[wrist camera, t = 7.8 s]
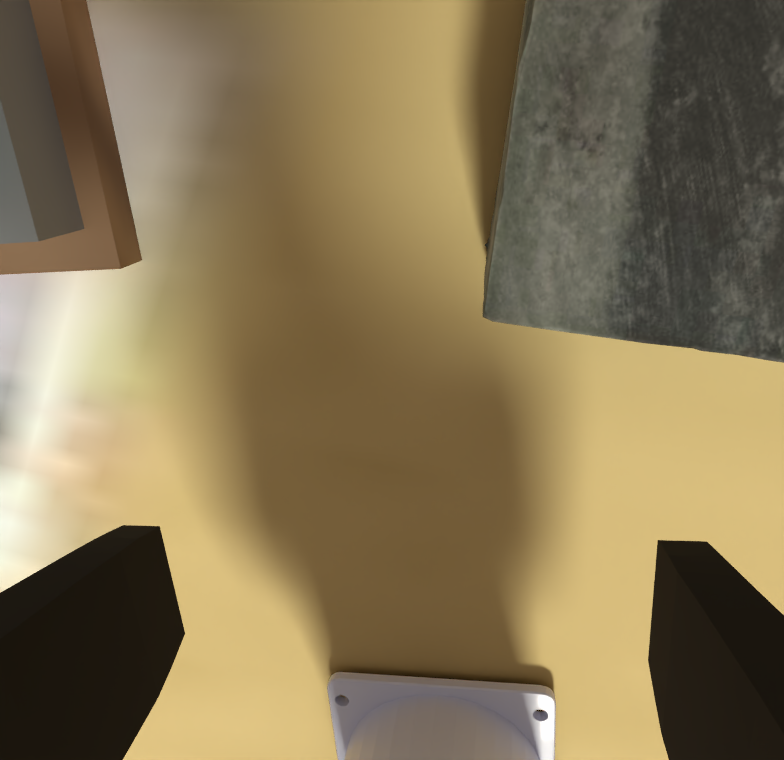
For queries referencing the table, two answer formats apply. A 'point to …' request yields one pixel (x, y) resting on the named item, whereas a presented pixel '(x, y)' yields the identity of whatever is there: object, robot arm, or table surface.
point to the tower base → (80, 152)
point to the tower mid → (30, 139)
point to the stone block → (645, 175)
